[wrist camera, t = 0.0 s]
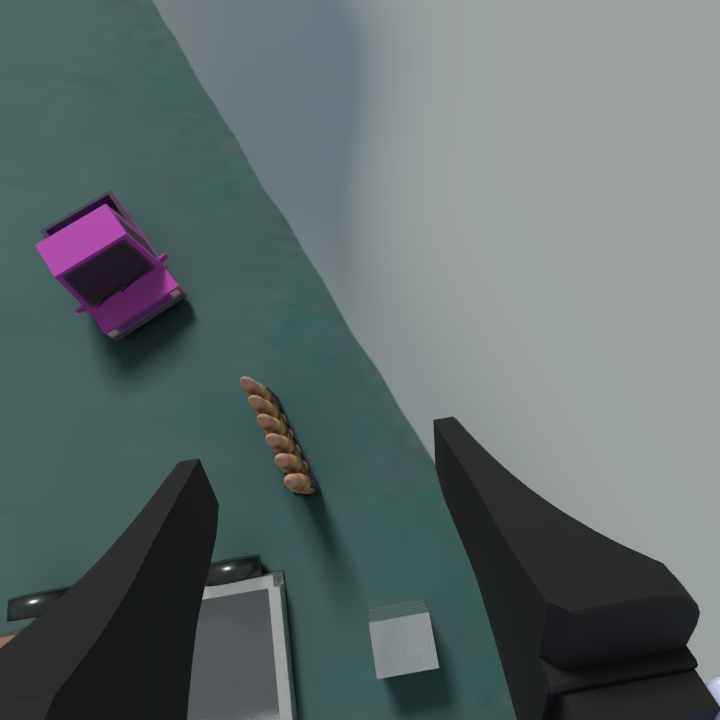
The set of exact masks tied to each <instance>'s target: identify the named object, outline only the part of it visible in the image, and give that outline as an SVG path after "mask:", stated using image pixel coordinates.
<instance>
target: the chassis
mask: <svg viewBox="0 0 720 720" xmlns="http://www.w3.org/2000/svg"><path fill="white" fill-rule="evenodd" d="M71 587H73V586H69V587H62V588H57V589H51V590H46V591H41V592H37V593H32V594H28V595H24V596H19V597H16V598H12V599H9V600H8V608H7V621H17V620H23V619H28V618H33V617H38V616H40V615H42V614H43V613H44V612H45V611H46V610H47V609H48V608H49V607H50V606H52V605H53V604H54V603H55V602H56V601H57V600H58V599H59V598H60V597H62V596H63V595H64V594H65V593H66V592H67V591H68V590H69V589H70V588H71ZM26 627H27V626H26ZM26 627H22V628H19V629H16V630H13V631H11V632H8V633H5V634H2V635H0V648H1V647H2V646H3V645H5V644H6V643H7V642H9V641H10V640H11V639H12V638H14V637H15V636H16V635H17V634H19V633H20V632H21V631H22V630H24V629H25V628H26ZM187 720H298V712H297V702H296V692H295V682H294V672H293V663H292V653H291V643H290V633H289V623H288V613H287V603H286V593H285V583H284V573H283V570H281V571H276V572H270V573H264V574H262V569H261V557H260V555H250V556H243V557H237V558H232V559H227V560H222V561H218V562H213V563H210V567H209V571H208V576H207V580H206V585H205V589H204V594H203V598H202V603H201V607H200V612H199V617H198V623H197V629H196V637H195V645H194V653H193V661H192V671H191V681H190V691H189V701H188V714H187Z"/></svg>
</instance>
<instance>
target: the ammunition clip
mask: <svg viewBox="0 0 720 720" xmlns="http://www.w3.org/2000/svg"><path fill="white" fill-rule="evenodd" d="M240 383H241V386H242V388H243V389H244V390H245V392H246V393H247V395H248V397H249V399H248V400H249V404H250V406H251V408H252V409H253V410H254V411H255V413H256V415H257V416H258V417H257V422H258V425H259V426H260V427H261V428H262V429H263V431H264V433H265V434H267V436H266V443H267V445H268V446H269V447H270V448H271V450H272V451H273V452H274V453H276V454H277V455H276V457H275V463H276V465H277V466H278V467H279V468H280V469H281V470H282V471H283V472H285V474H286V477H285V478H284V484H285V486H286V487H287V488H289V489H290V490H291V491H293V493H294V495H295V496H299V497H302V498H306V497H308V496H310V495H312V494H314V493H316V492H318V491H320V487H319V485H318V482H317V480H316V478H315V476H314V474H313V472H312V469H311V467H310V465H309V463H308V461H307V459H306V456H305V454H304V452H303V450H302V448H301V446H300V443H299V441H298V439H297V437H296V435H295V433H294V430H293V428H292V426H291V424H290V422H289V420H288V417H287V415H286V413H285V411H284V409H283V407H282V404H281V402H280V400H279V398H278V397H277V396H276V395H275V394H274V393H273V392H272V391H271V390H270V389H269V388H265V387H264V386H263V385H262V384H260V383H257V382H256V381H254V380H253V379H251V378H249V377H242V378H241V380H240Z"/></svg>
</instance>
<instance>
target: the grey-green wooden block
mask: <svg viewBox="0 0 720 720" xmlns="http://www.w3.org/2000/svg"><path fill="white" fill-rule="evenodd" d="M369 627H370V634H371V641H372V647H373V654H374V661H375V668H376V674H377V679H381V678H386V677H392V676H398V675H403V674H409V673H414V672H420V671H425V670H431V669H436V668H439V664H438V659H437V653H436V648H435V643H434V637H433V632H432V626H431V621H430V616H429V611H428V610H427V608H426V606H425V604H424V602H423V600H416V601H411V602H405V603H399V604H394V605H388V606H382V607H377V608H371V609H369Z"/></svg>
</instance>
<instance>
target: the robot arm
mask: <svg viewBox="0 0 720 720" xmlns="http://www.w3.org/2000/svg"><path fill="white" fill-rule="evenodd" d="M434 441H435V464H436V471H437V475H438V478H439V482H440V485H441V489H442V492H443V496H444V499H445V501H446V504H447V506H448V509H449V511H450V514H451V516H452V519H453V521H454V524H455V526H456V528H457V531H458V533H459V536H460V538H461V540H462V543H463V545H464V548H465V550H466V553H467V555H468V557H469V560H470V562H471V565H472V568H473V570H474V573H475V576H476V579H477V582H478V585H479V588H480V592H481V595H482V598H483V601H484V605H485V608H486V611H487V615H488V618H489V621H490V625H491V628H492V632H493V635H494V638H495V642H496V645H497V649H498V652H499V656H500V659H501V663H502V667H503V670H504V674H505V677H506V681H507V684H508V688H509V692H510V696H511V699H512V703H513V707H514V710H515V714H516V718H517V720H720V677H718V678H715V679H713V680H711V681H709V682H707V683H706V684H704V682H703V681H702V679H701V678H700V676H699V675H698V673H697V672H696V670H695V669H694V668H697V666H698V664H697V661H696V659H695V658H694V656H693V655H692V654H691V652H690V650H689V649H688V648H687V646H686V644H687V643H688V641H689V639H690V637H691V635H692V633H693V631H694V629H695V627H696V625H697V622H698V618H699V614H700V612H699V608H698V605H697V604H696V602H695V601H694V600H693V598H692V597H691V596H690V594H689V593H688V592H687V590H686V589H685V588H684V587H683V585H682V584H681V583H680V582H679V580H677V578H676V577H675V576H674V575H673V574H672V573H671V572H670V571H669V570H668V568H666V566H665V565H664V564H663V563H661V562H659V561H656V560H654V559H652V558H650V557H648V556H645V555H643V554H641V553H639V552H637V551H634V550H632V549H630V548H627V547H625V546H623V545H621V544H619V543H617V542H615V541H613V540H611V539H609V538H608V537H606V536H603V535H602V534H600V533H598V532H596V531H594V530H593V529H591V528H589V527H587V526H586V525H584V524H582V523H581V522H579V521H577V520H576V519H574V518H572V517H571V516H569V515H567V514H566V513H564V512H562V511H561V510H559V509H558V508H556V507H555V506H553V505H552V504H550V503H549V502H548V501H546V500H545V499H543V498H542V497H541V496H539V495H538V494H536V493H535V492H534V491H532V490H531V489H530V488H528V487H527V486H526V485H525V484H523V483H522V482H521V481H520V480H518V479H517V478H516V477H515V476H514V475H512V474H511V473H510V472H509V471H508V470H506V469H505V468H504V467H503V466H502V465H501V464H500V463H499V462H498V461H497V460H495V459H494V458H493V457H492V456H491V455H490V454H489V453H488V452H487V451H486V450H485V449H484V448H483V447H482V446H481V445H480V444H479V443H478V442H477V441H476V440H475V439H474V438H473V437H472V436H471V435H470V434H469V433H468V432H467V431H466V429H465V428H464V427H463V426H462V425H461V424H460V423H459V421H458V420H457V419H455V418H454V417H449V418H443V419H437V420H434ZM218 509H219V504H218V501H217V499H216V497H215V494H214V492H213V490H212V487H211V485H210V483H209V480H208V478H207V476H206V473H205V471H204V469H203V466H202V464H201V462H200V459H194V460H188V461H182V462H179V463H178V464H177V465H176V467H175V468H174V469H173V471H172V472H171V473H170V474H169V476H168V477H167V478H166V480H165V481H164V482H163V484H162V485H161V486H160V488H159V489H158V490H157V492H156V493H155V494H154V495H153V497H152V498H151V499H150V501H149V502H148V503H147V504H146V506H145V507H144V508H143V510H142V511H141V512H140V513H139V515H138V516H137V517H136V518H135V520H134V521H133V522H132V523H131V524H130V526H129V527H128V528H127V529H126V530H125V531H124V533H123V534H122V535H121V536H120V537H119V538H118V540H117V541H116V542H115V543H114V544H113V545H112V547H111V548H110V549H109V550H108V551H107V552H106V553H105V554H104V555H103V556H102V558H101V559H100V560H99V561H98V562H97V563H96V564H95V565H94V566H93V567H92V568H91V569H90V570H89V571H88V572H87V573H86V574H85V575H84V576H83V577H82V578H81V579H80V580H79V581H78V582H77V583H76V584H75V585H74V586H73V587H71V588H70V589H69V590H68V591H67V592H66V593H65V594H64V595H63V596H62V597H60V598H59V599H58V600H57V601H56V602H55V603H54V604H53V605H52V606H50V607H49V608H48V609H47V610H46V611H45V612H44V613H43V614H42V615H40V616H39V617H38V618H37V619H36V620H34V621H33V622H32V623H31V624H30V625H28V626H27V627H26V628H25V629H24V630H22V631H21V632H20V633H19V634H17V635H16V636H15V637H14V638H12V639H11V640H10V641H9V642H7V643H6V644H5V645H3V646H2V647H1V648H0V720H187V714H188V701H189V691H190V681H191V671H192V661H193V653H194V645H195V637H196V629H197V623H198V617H199V612H200V607H201V603H202V598H203V594H204V589H205V585H206V580H207V576H208V571H209V567H210V563H211V558H212V553H213V549H214V544H215V539H216V532H217V522H218Z"/></svg>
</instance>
